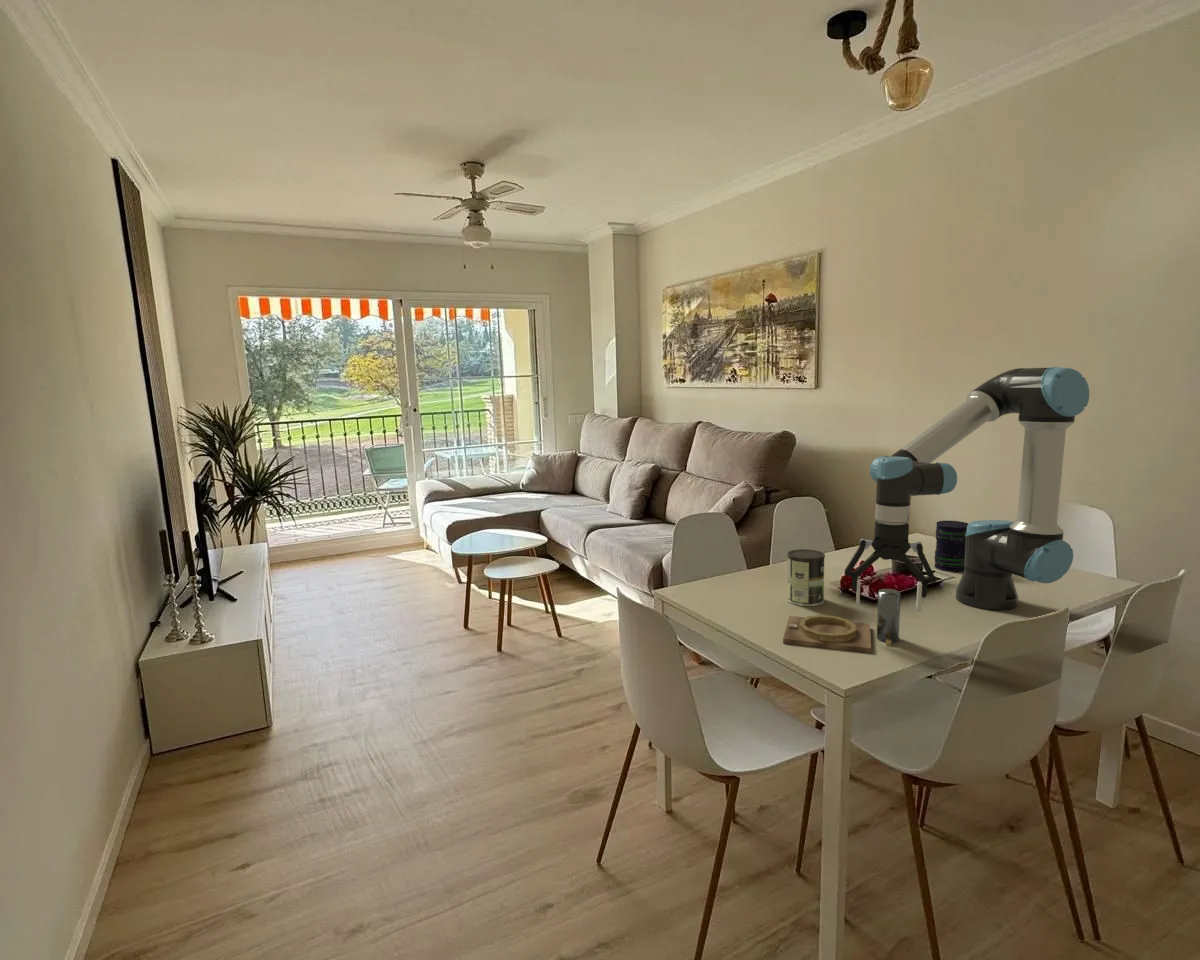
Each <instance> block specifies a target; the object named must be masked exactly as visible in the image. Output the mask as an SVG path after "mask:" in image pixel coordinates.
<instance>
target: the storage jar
mask: <svg viewBox="0 0 1200 960" xmlns="http://www.w3.org/2000/svg"><path fill="white" fill-rule="evenodd" d="M968 524H969V522H964V521H960V520H958V521H957V520H939V521H937V522H936V524H935V525H936V527H935V528H936V529H935V540H936V541H935V551H934V558H933V559H934V568H935V569H937V570H939V571H942V572H948V573H964V563H965V535H966V531H967V526H968Z"/></svg>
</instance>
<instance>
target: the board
mask: <svg viewBox="0 0 1200 960" xmlns="http://www.w3.org/2000/svg"><path fill="white" fill-rule="evenodd" d="M871 638H872V637H871V623H868V622H867V623H866V622H858V621H857V622H855V621H851V620H849V619H846V618H843V617H839V616H836V615H824V614H818V615H808V616H806V617H805V616H796V615H795V616H794V615H793V616H792V615H788V620H787V623H786V626H785V630H784V633H783V637H782V643H783V644H786V645H787V644H788V645H796V646H803V647H804V646H805V647H813V648H815V647H816V648H820V649H821V648H823V649H832V650H840V651H848V652H849V651H850V652H856V653H857V652H859V653H860V652H861V653H865V654H866V653H868V654H871V653H872V641H871V640H872V639H871Z"/></svg>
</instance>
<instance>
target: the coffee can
mask: <svg viewBox="0 0 1200 960" xmlns="http://www.w3.org/2000/svg"><path fill="white" fill-rule="evenodd" d="M786 555H787V598H786V599H787V601H788V602H789V603H790V604H792V605H795V606H799V607H817V606H821V605H823V604H824V603H825V600H824V599H825V598H824V597H825V596H824V595H825V558H826V554H825V553H824V552H822V551H820V550H815V549H805V548H804V549H802V548H800V549H799V548H798V549H793V550H790V551H788V552H787V553H786Z"/></svg>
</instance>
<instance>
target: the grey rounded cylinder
mask: <svg viewBox="0 0 1200 960" xmlns="http://www.w3.org/2000/svg"><path fill="white" fill-rule="evenodd" d="M901 593H902V592H900V591H899V590H896V589H892V588H881V589H879V590H878V592H877V613H876V614H877V618H876V619H877V620H876V639H877V640H878V641H879V642H883V643H885V646H892V644H895V643H898V642H899V640H900V621H901V620H900V617H901V595H902V594H901Z"/></svg>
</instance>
